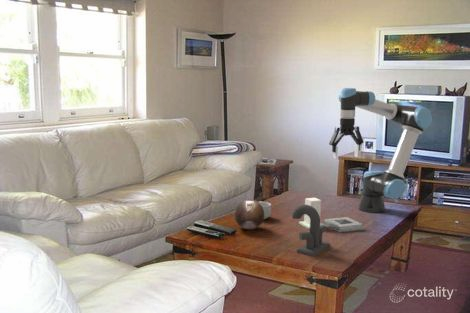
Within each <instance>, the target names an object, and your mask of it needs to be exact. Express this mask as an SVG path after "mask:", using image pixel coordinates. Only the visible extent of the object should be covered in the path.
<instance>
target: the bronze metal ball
mask: <svg viewBox="0 0 470 313" xmlns="http://www.w3.org/2000/svg"><path fill="white" fill-rule="evenodd" d="M258 202H259V201H257V200H255V199H244V200H242V201H241V202H239V203H238V204H237V205H236V207H235V209H234V219H235V221H236V223H237V225H238V226H239V227H241V228H242V229H244V230H245V229H246V230H255V229H257V228H259V226H261V225H262V223H263V221H264V220H265V219H264V210H263V207H262V206H261V205H260V204H259V203H258Z"/></svg>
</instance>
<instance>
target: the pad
mask: <svg viewBox="0 0 470 313" xmlns="http://www.w3.org/2000/svg"><path fill="white" fill-rule="evenodd" d="M298 224H299V225H301V226H303V227H304V228H306V229H308V230H310V225H308V224H306V223H304V220H302V221H301V220H300V221H298ZM324 224H325V223H322V222H320V226H321V225H324ZM324 226H326V225H324Z"/></svg>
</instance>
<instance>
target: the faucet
mask: <svg viewBox="0 0 470 313" xmlns="http://www.w3.org/2000/svg"><path fill="white" fill-rule="evenodd" d="M304 214H306V215H308V216H309V217H310V229H309V232H307V231H304V232H302V231H301V232H299V234H298V238H299V240H300V241H305V244H304V245H302V246H301V247H299V248H298V249H296V253H298V254H302V255H307V256H308V257H309V256H311V257H316V256H317V255H319V254H320V253H322V252H323V251H325V250H327V249H328V248H330V247H331V243H329V242H327V241H323V234H324V233H325V232H326V231H327V226H326V225H325V226H324V225H321V226H320V223H321V215H320V216H319V214H318V212H317V211H316V209H315V208H313V207H312V206H310V205H305V204H301V205H298V206H297V207H296V208H295V209H294V210H293V212H292V215H291V218H292V219H295V220H300V219H301V218H303V217H302V216H304Z"/></svg>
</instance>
